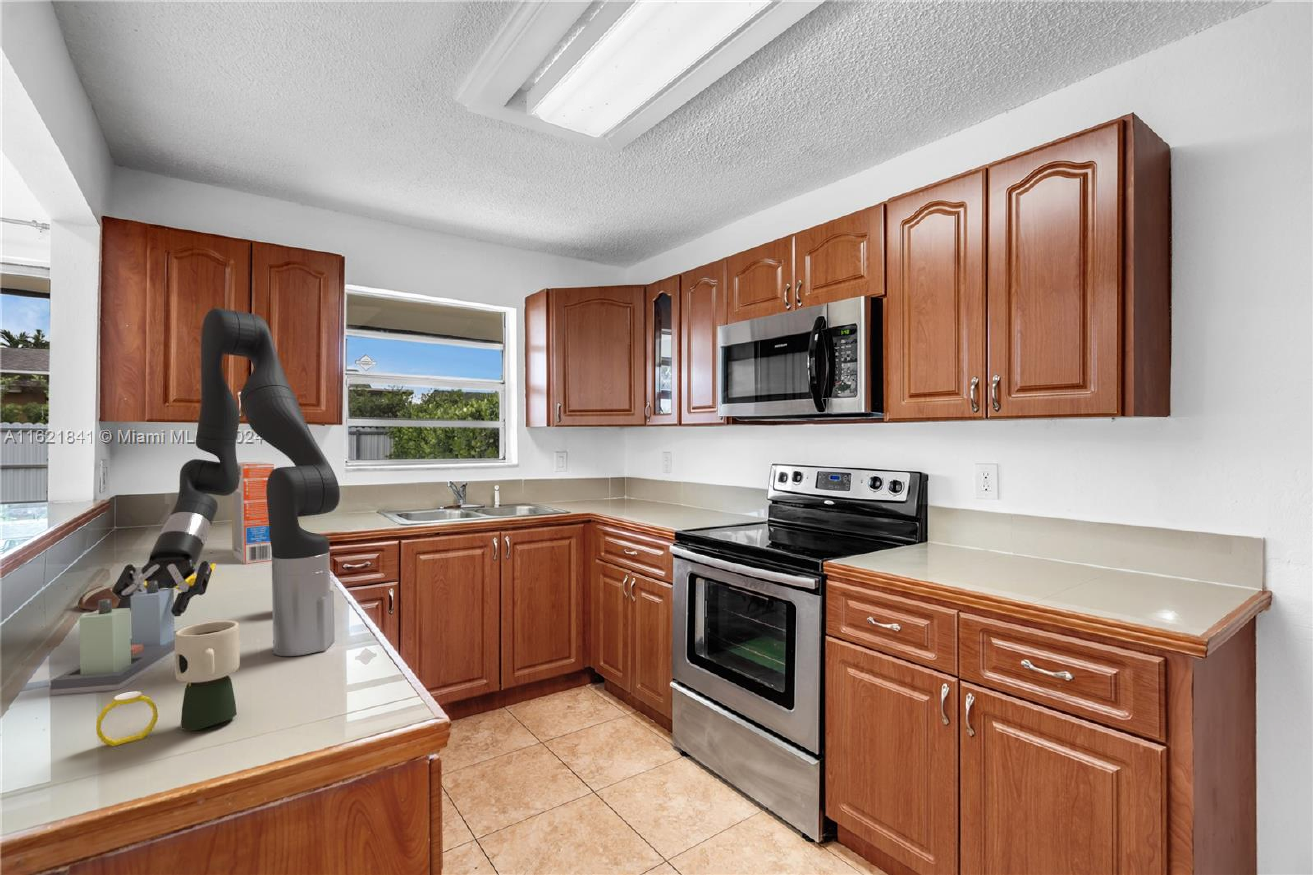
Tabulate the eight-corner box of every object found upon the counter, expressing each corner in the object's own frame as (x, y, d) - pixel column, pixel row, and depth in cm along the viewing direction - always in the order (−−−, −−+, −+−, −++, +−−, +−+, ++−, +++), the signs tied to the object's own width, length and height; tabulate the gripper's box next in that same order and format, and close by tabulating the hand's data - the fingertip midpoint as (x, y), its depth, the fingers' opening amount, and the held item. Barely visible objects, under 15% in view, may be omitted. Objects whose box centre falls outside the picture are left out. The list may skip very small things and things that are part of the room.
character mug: (176, 716, 88) (174, 623, 88) (237, 703, 92) (236, 614, 92) (176, 747, 79) (174, 644, 79) (243, 730, 84) (241, 632, 84)
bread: (134, 597, 155) (133, 576, 155) (148, 604, 148) (147, 583, 148) (73, 607, 146) (72, 586, 146) (85, 616, 139) (84, 593, 139)
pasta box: (275, 560, 197) (273, 464, 197) (244, 564, 192) (242, 465, 191) (261, 550, 214) (259, 461, 214) (232, 554, 209) (230, 462, 208)
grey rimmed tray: (195, 641, 120) (195, 625, 120) (119, 689, 98) (118, 670, 98) (141, 645, 119) (141, 629, 119) (50, 695, 96) (50, 675, 96)
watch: (154, 732, 84) (158, 686, 85) (156, 739, 82) (160, 692, 83) (94, 744, 80) (98, 696, 80) (95, 752, 78) (99, 703, 78)
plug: (174, 642, 117) (173, 577, 117) (160, 650, 113) (159, 583, 113) (147, 644, 116) (145, 579, 116) (131, 652, 112) (130, 585, 112)
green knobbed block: (131, 668, 104) (129, 595, 104) (113, 678, 100) (112, 603, 100) (99, 670, 104) (98, 597, 103) (80, 681, 99) (78, 604, 99)
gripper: (131, 531, 120) (92, 607, 109) (215, 528, 123) (185, 602, 112) (148, 553, 125) (112, 629, 114) (228, 550, 128) (201, 623, 117)
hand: (148, 615), depth 113 cm, fingers open, 8 cm apart
